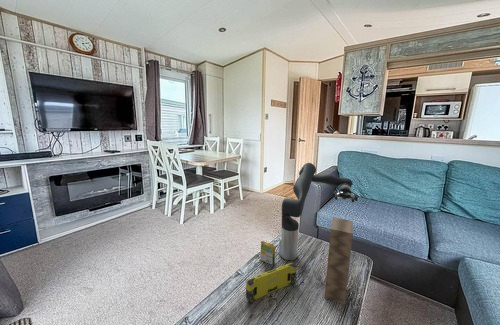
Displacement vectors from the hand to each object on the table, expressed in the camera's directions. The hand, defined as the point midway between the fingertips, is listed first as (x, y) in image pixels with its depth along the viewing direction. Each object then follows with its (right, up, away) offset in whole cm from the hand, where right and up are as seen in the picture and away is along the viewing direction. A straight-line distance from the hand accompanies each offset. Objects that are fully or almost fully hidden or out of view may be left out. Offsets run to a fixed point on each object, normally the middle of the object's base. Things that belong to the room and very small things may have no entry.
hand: (344, 199), depth 124 cm
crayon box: (-46, -32, -10) cm, 57 cm away
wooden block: (-17, -36, -30) cm, 50 cm away
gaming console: (-46, -36, -30) cm, 66 cm away
